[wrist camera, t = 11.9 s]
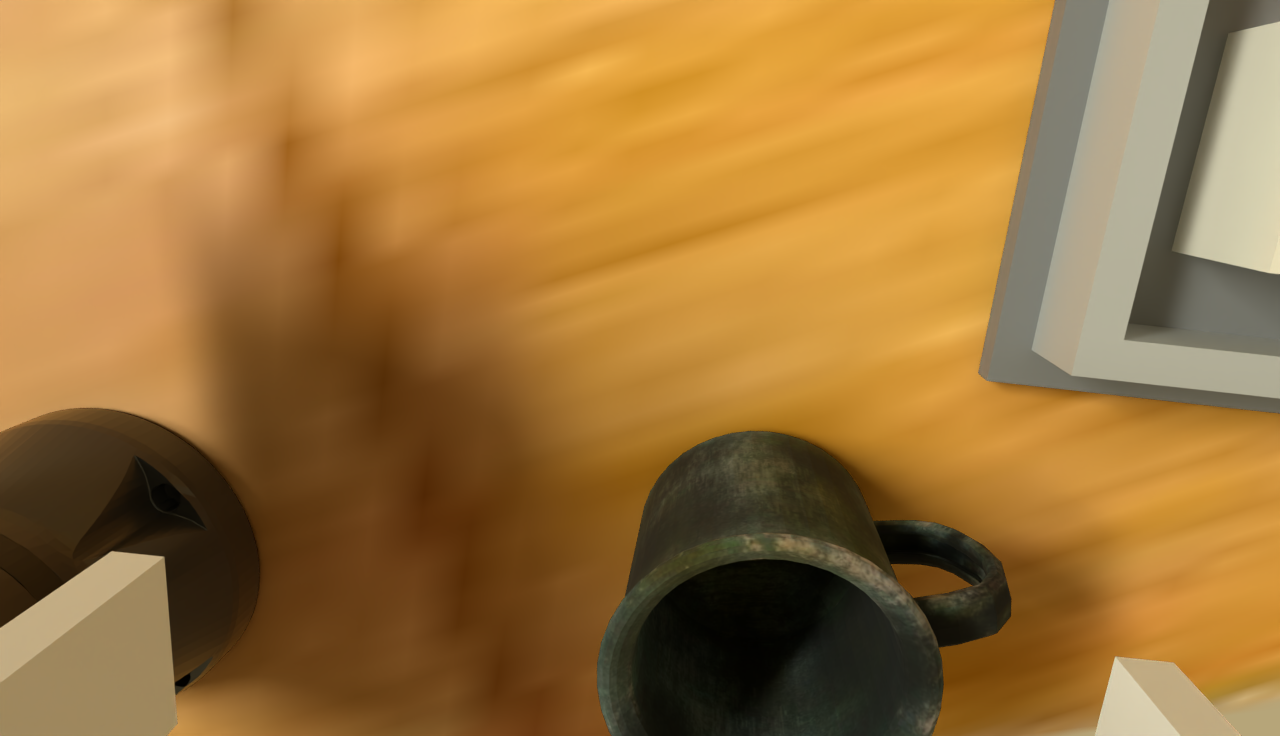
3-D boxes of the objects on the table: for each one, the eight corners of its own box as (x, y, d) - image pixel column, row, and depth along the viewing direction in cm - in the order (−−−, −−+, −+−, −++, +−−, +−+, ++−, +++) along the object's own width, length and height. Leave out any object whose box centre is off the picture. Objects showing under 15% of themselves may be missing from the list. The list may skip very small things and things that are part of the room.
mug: (609, 441, 38) (560, 569, 27) (933, 380, 36) (1034, 491, 24) (660, 647, 41) (635, 846, 29) (966, 602, 38) (1072, 797, 27)
